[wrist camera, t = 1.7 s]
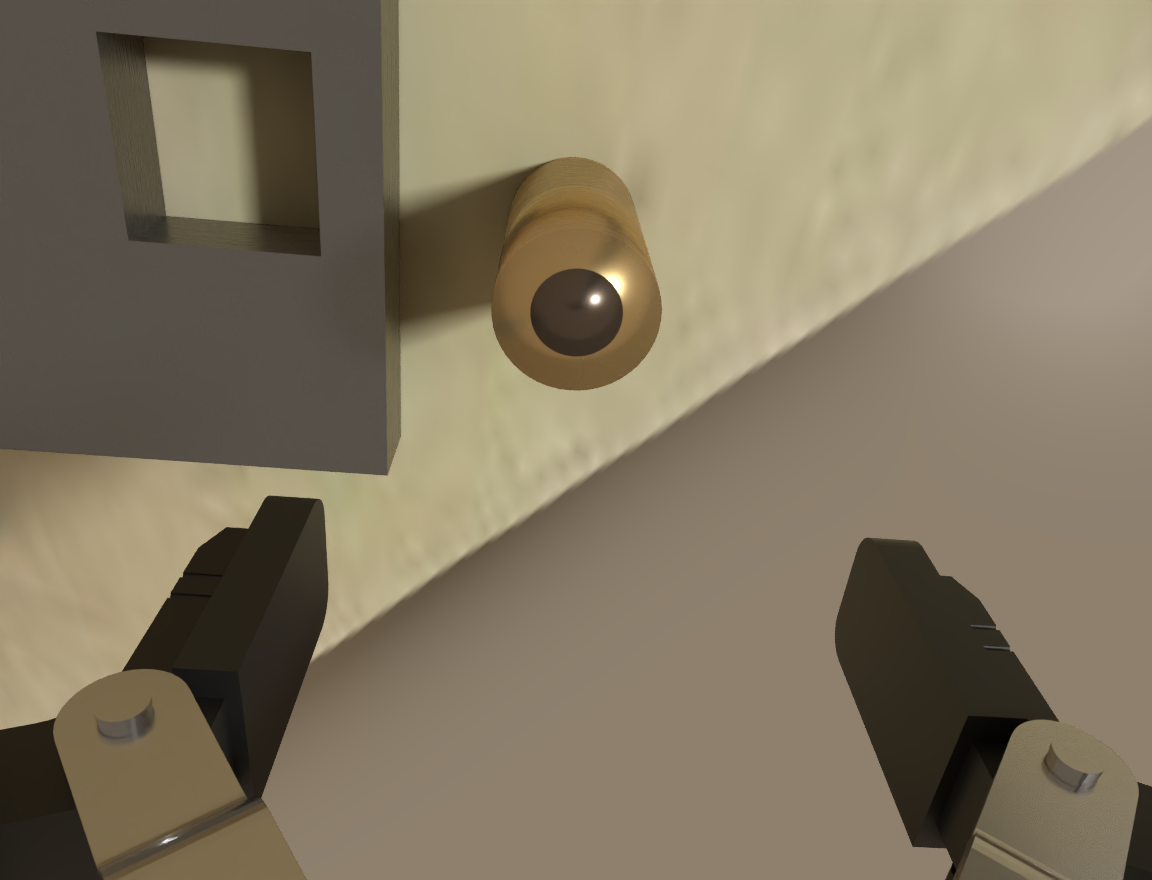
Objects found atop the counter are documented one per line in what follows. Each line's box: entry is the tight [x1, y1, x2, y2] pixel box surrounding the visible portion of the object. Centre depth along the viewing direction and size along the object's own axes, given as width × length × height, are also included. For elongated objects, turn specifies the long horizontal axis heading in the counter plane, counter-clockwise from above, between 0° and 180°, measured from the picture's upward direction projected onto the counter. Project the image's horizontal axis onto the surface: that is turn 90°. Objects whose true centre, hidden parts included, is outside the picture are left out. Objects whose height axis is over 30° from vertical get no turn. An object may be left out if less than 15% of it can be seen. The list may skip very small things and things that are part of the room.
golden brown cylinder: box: [492, 157, 662, 390], centre depth 27 cm, size 4×4×9 cm
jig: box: [0, 0, 401, 475], centre depth 29 cm, size 16×16×3 cm
